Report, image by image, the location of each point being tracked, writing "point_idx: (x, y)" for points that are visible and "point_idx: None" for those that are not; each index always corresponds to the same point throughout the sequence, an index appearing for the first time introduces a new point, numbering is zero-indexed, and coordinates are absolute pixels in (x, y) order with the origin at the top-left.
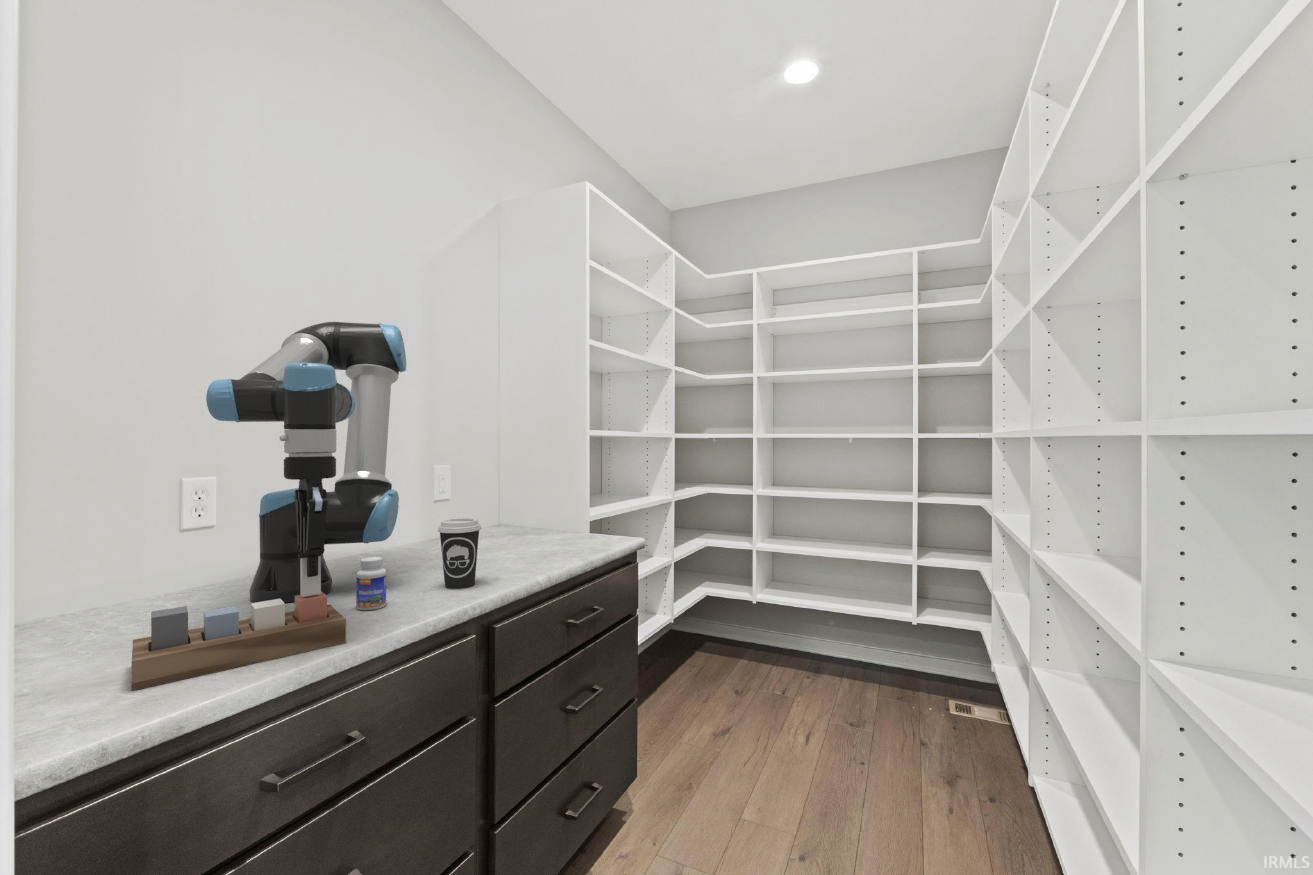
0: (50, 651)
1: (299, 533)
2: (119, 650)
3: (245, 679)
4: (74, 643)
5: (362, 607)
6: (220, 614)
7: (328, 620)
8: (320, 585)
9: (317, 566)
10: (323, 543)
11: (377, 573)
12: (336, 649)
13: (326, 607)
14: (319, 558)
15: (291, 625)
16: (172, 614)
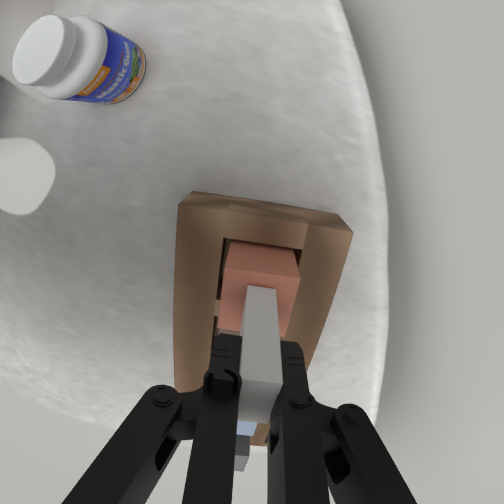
0: (80, 413)
1: (154, 482)
2: (109, 397)
3: (352, 358)
4: (64, 399)
5: (126, 95)
6: (254, 425)
7: (329, 263)
8: (276, 304)
9: (304, 368)
10: (380, 444)
11: (98, 42)
12: (357, 241)
13: (296, 264)
14: (281, 377)
15: (294, 322)
16: (246, 463)
